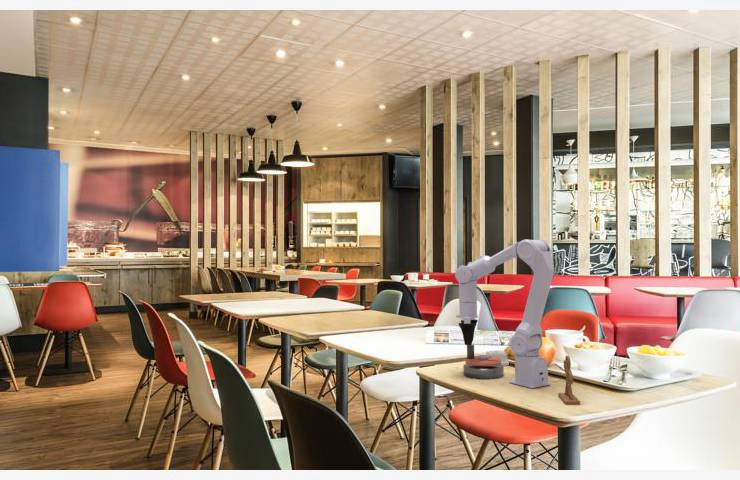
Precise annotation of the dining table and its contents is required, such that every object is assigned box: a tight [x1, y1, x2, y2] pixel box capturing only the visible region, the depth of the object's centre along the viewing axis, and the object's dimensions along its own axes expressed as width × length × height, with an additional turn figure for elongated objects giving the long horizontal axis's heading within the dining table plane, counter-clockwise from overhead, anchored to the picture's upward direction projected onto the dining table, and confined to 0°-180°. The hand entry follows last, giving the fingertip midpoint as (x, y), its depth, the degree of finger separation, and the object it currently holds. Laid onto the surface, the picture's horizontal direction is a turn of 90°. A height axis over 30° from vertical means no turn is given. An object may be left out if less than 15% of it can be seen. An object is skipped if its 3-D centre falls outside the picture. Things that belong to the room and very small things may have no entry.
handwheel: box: [464, 344, 501, 366], centre depth 184 cm, size 12×12×6 cm
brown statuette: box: [557, 355, 581, 406], centre depth 150 cm, size 9×4×12 cm, turn 173°
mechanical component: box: [485, 350, 510, 367], centre depth 203 cm, size 10×4×10 cm
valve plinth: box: [462, 363, 505, 380], centre depth 184 cm, size 13×13×3 cm
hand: (469, 343), depth 185 cm, fingers open, 7 cm apart
